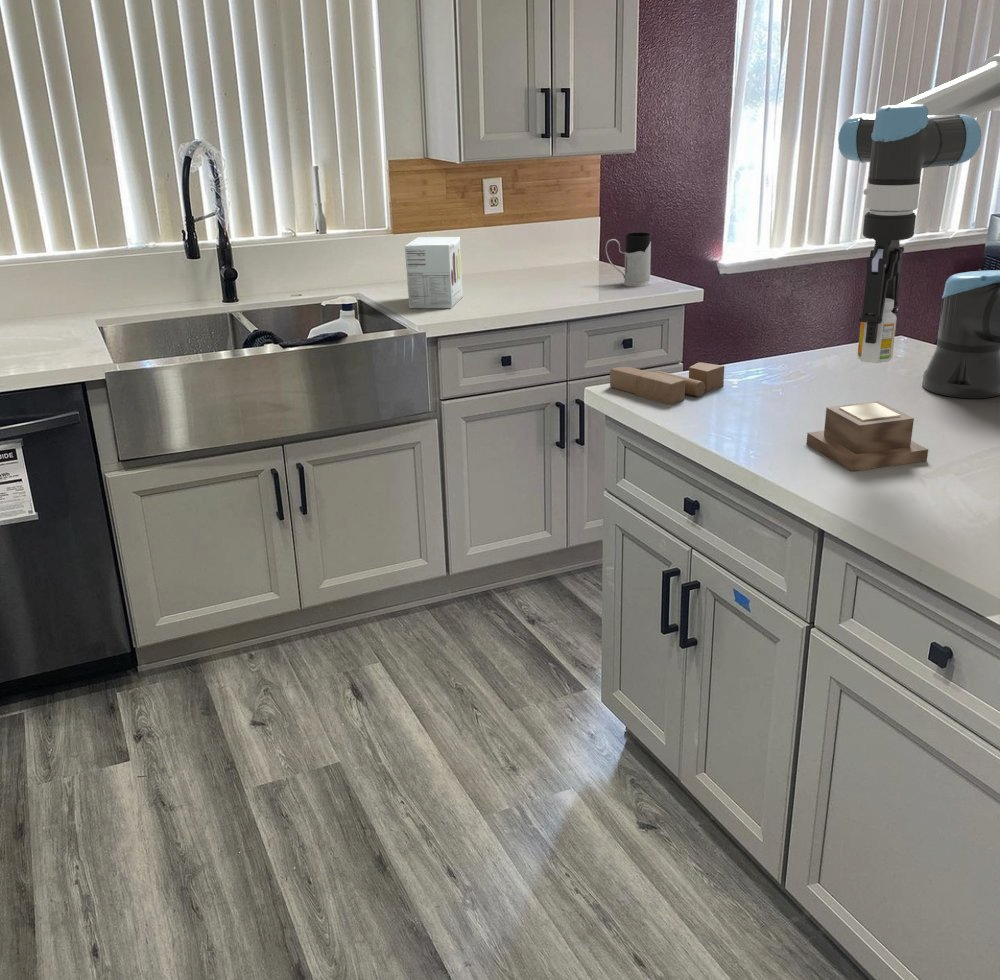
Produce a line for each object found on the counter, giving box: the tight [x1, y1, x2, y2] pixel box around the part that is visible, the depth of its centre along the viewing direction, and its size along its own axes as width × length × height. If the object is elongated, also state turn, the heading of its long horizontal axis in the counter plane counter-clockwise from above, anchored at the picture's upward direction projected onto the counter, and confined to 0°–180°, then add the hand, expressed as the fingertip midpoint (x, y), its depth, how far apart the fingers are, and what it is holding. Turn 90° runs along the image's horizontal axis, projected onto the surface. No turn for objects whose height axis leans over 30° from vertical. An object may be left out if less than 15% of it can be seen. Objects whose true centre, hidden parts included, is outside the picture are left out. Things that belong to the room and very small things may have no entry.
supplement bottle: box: [857, 298, 897, 364], centre depth 161 cm, size 5×5×10 cm
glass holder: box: [605, 232, 652, 288], centre depth 306 cm, size 9×14×15 cm, turn 84°
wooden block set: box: [609, 361, 725, 405], centre depth 207 cm, size 17×6×18 cm
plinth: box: [806, 400, 929, 472], centre depth 168 cm, size 14×14×7 cm
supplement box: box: [404, 236, 464, 309], centre depth 291 cm, size 17×13×18 cm
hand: (874, 356), depth 163 cm, fingers closed on supplement bottle, 5 cm apart
